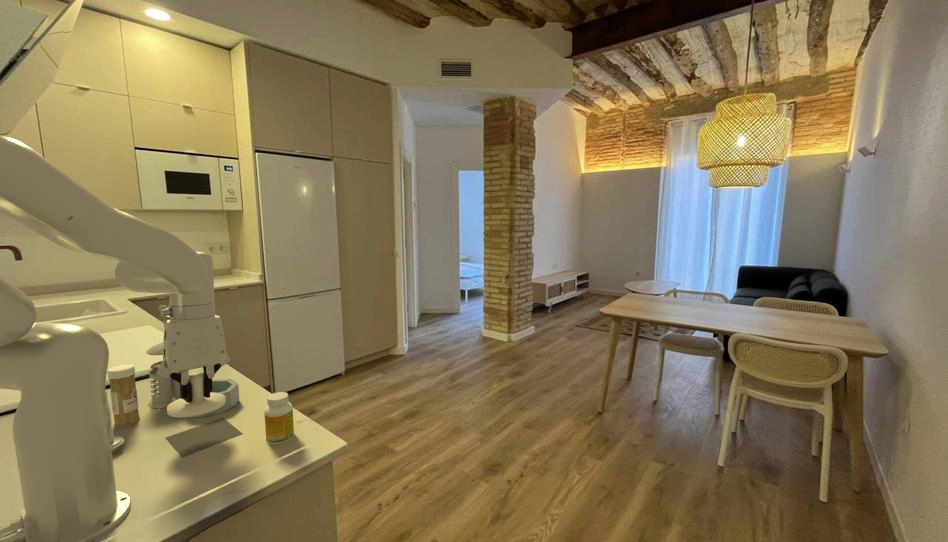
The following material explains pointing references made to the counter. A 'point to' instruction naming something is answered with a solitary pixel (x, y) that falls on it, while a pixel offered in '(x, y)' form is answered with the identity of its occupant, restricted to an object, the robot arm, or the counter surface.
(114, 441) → the screw
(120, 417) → the sprinkles bottle
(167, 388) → the french press
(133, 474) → the counter surface
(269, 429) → the supplement bottle
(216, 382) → the bowl
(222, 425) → the mat
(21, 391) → the robot arm
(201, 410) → the lid
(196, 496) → the counter surface
